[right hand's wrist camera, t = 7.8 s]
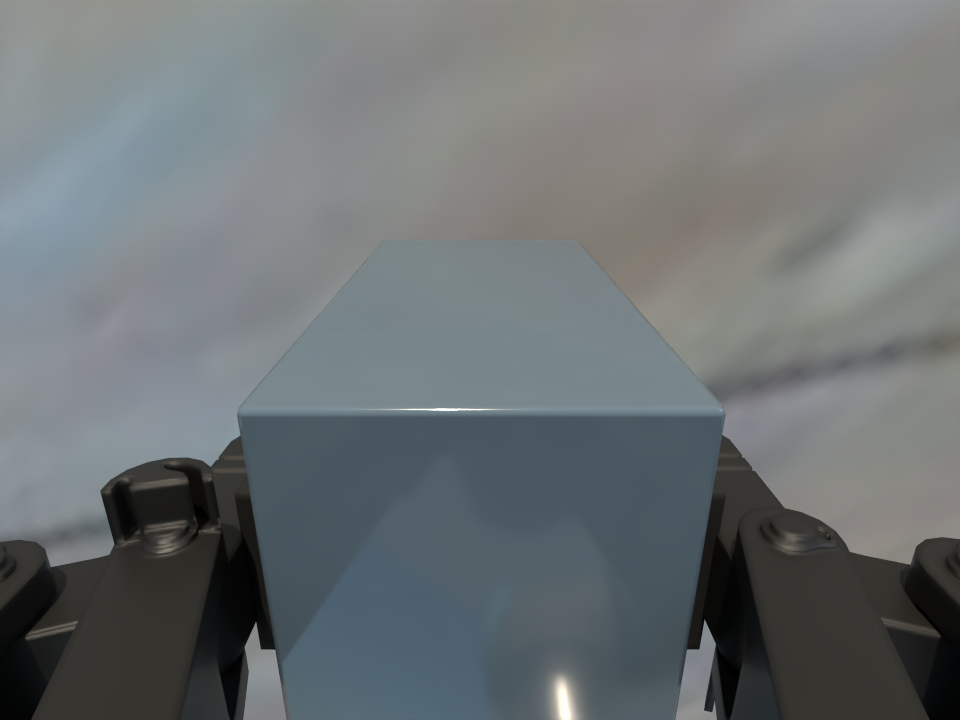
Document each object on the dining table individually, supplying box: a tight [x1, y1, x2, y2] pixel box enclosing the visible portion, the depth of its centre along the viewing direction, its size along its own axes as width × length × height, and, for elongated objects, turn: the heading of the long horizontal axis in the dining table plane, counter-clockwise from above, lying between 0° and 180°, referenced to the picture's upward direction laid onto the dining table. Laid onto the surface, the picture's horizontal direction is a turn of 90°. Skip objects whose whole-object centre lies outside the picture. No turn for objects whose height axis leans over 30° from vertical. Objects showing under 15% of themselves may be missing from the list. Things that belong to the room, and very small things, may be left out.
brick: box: [237, 240, 725, 720], centre depth 12 cm, size 6×5×10 cm
